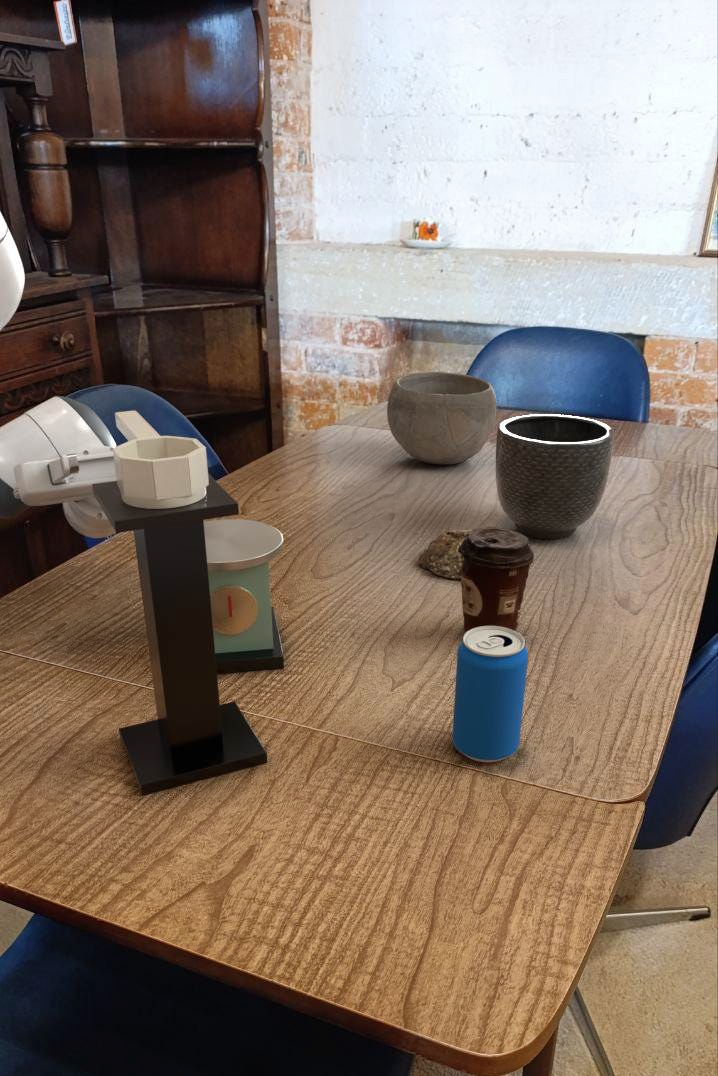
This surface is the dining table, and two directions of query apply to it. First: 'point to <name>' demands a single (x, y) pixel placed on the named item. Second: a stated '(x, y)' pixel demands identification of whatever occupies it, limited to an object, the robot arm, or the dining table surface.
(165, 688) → the shelf stand
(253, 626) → the scale
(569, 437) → the planter
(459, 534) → the brown rock
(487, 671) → the beverage can
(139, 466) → the handled bowl
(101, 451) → the robot arm
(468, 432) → the bowl
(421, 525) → the dining table surface
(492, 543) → the coffee cup
